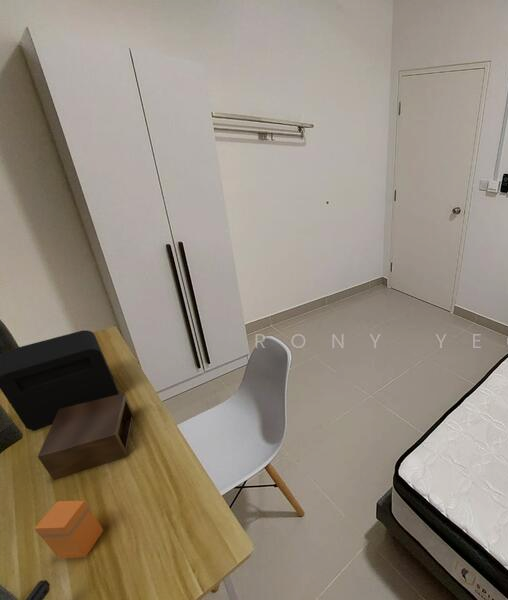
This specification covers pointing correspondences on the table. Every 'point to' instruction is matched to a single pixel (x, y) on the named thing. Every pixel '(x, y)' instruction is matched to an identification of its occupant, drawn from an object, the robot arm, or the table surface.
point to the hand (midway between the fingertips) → (18, 584)
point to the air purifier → (54, 377)
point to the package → (70, 529)
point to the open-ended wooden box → (87, 436)
